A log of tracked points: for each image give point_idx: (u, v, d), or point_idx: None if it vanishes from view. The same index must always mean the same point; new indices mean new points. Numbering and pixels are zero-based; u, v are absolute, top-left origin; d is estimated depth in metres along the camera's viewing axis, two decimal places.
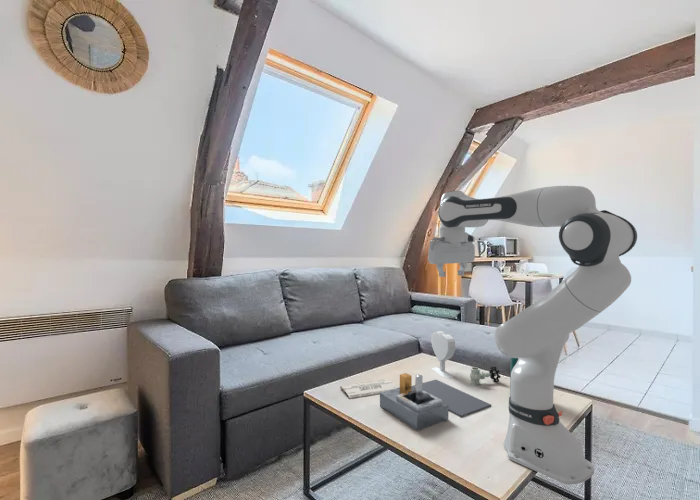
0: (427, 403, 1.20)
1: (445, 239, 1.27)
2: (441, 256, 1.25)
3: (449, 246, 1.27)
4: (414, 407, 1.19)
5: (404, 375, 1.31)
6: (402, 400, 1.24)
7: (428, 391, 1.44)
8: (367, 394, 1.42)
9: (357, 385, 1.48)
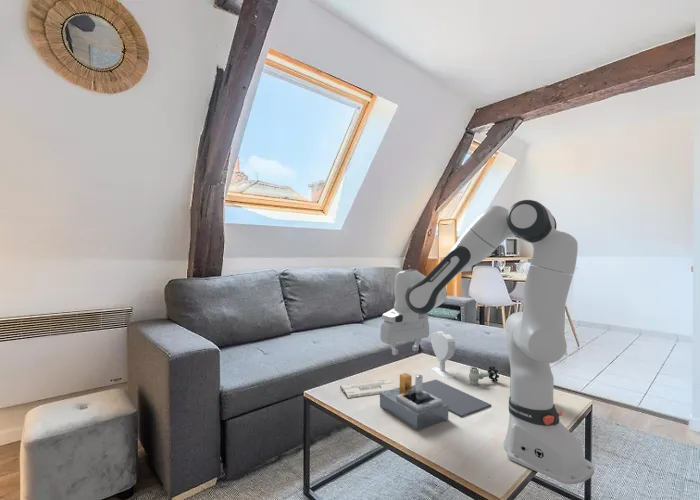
0: (427, 403, 1.20)
1: None
2: None
3: None
4: (414, 407, 1.19)
5: (404, 375, 1.31)
6: (402, 400, 1.24)
7: (428, 391, 1.44)
8: (366, 394, 1.42)
9: (357, 385, 1.48)
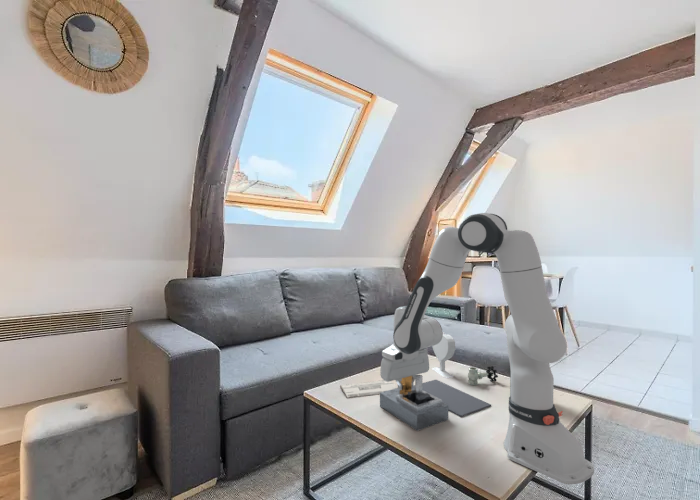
0: (427, 403, 1.20)
1: None
2: None
3: None
4: (414, 407, 1.19)
5: None
6: (402, 400, 1.24)
7: (428, 391, 1.44)
8: (365, 394, 1.42)
9: (357, 385, 1.48)
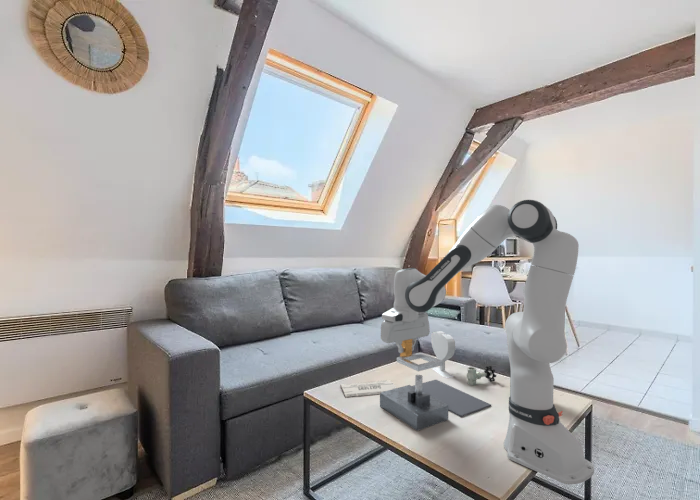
0: (428, 363, 1.20)
1: None
2: None
3: None
4: (415, 367, 1.18)
5: None
6: (403, 361, 1.23)
7: (428, 391, 1.44)
8: (364, 394, 1.42)
9: (356, 384, 1.49)
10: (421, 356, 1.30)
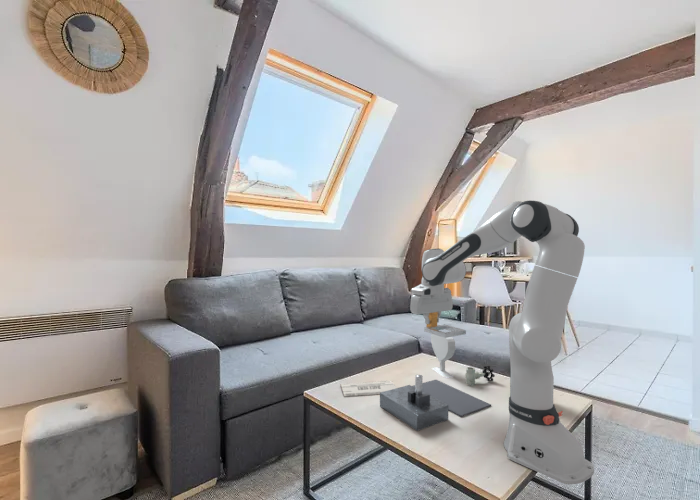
0: (453, 331, 1.36)
1: None
2: None
3: None
4: (442, 334, 1.34)
5: None
6: (430, 330, 1.39)
7: (428, 391, 1.44)
8: (363, 394, 1.42)
9: (356, 384, 1.49)
10: (445, 327, 1.45)
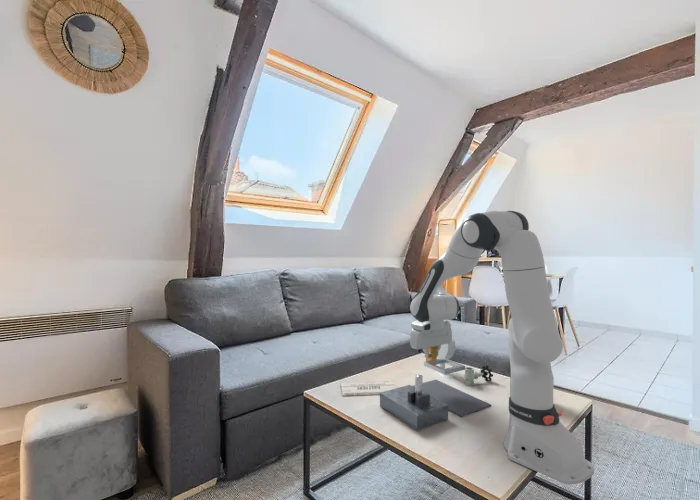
0: (452, 367, 1.37)
1: None
2: None
3: None
4: (441, 370, 1.35)
5: None
6: (430, 365, 1.40)
7: (428, 391, 1.44)
8: (362, 394, 1.42)
9: (356, 384, 1.49)
10: (445, 361, 1.46)
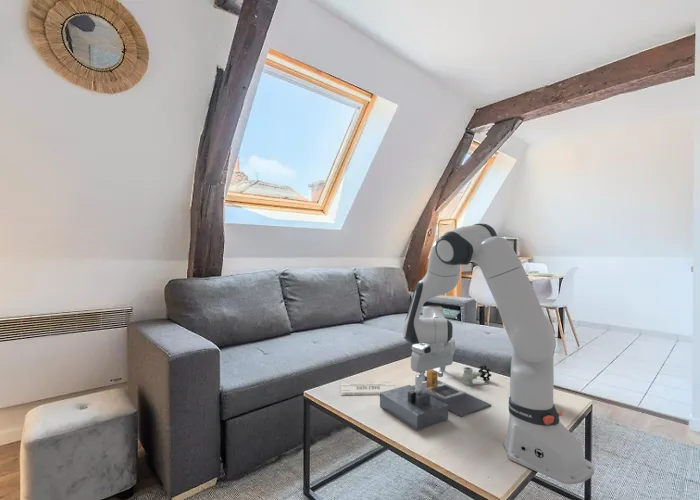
0: (453, 395, 1.37)
1: None
2: None
3: None
4: (442, 398, 1.35)
5: (431, 371, 1.47)
6: (430, 393, 1.41)
7: None
8: (361, 393, 1.42)
9: (356, 384, 1.49)
10: (445, 387, 1.47)
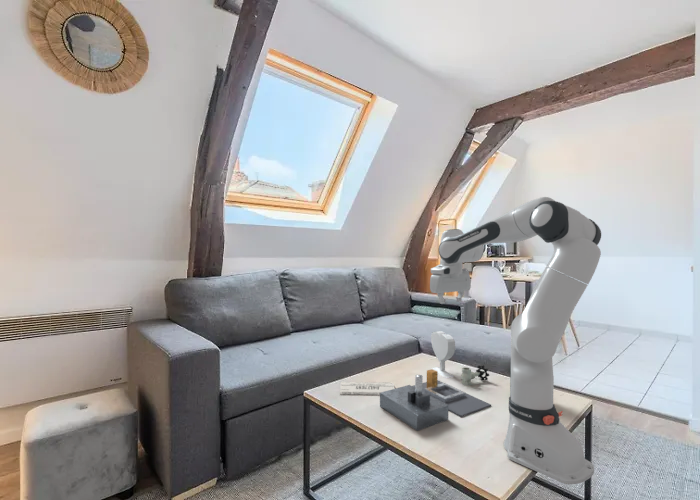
0: (453, 395, 1.37)
1: None
2: None
3: None
4: (442, 398, 1.35)
5: (431, 371, 1.47)
6: (430, 393, 1.41)
7: None
8: (359, 393, 1.42)
9: (356, 383, 1.50)
10: (445, 387, 1.47)
